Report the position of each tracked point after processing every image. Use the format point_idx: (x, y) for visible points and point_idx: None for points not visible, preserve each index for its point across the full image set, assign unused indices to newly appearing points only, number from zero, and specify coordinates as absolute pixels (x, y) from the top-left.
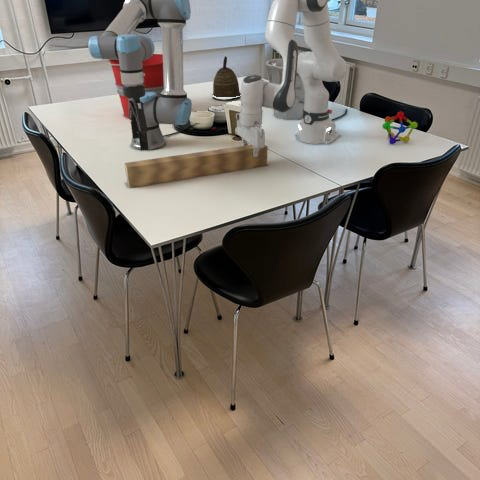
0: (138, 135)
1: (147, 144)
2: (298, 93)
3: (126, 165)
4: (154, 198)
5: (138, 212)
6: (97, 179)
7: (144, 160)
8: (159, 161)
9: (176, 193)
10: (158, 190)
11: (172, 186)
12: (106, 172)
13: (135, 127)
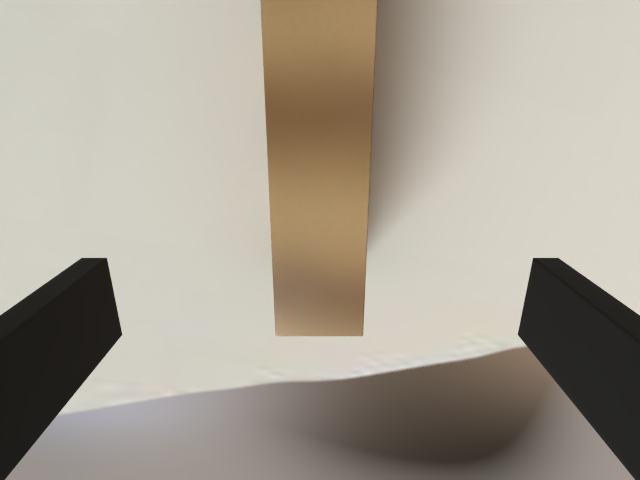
0: (93, 290)
1: (597, 293)
2: None
3: (328, 332)
4: (537, 184)
5: (630, 285)
6: (196, 384)
7: (279, 201)
8: (349, 88)
9: (548, 46)
10: (454, 139)
11: (442, 40)
12: (118, 339)
13: (20, 390)
